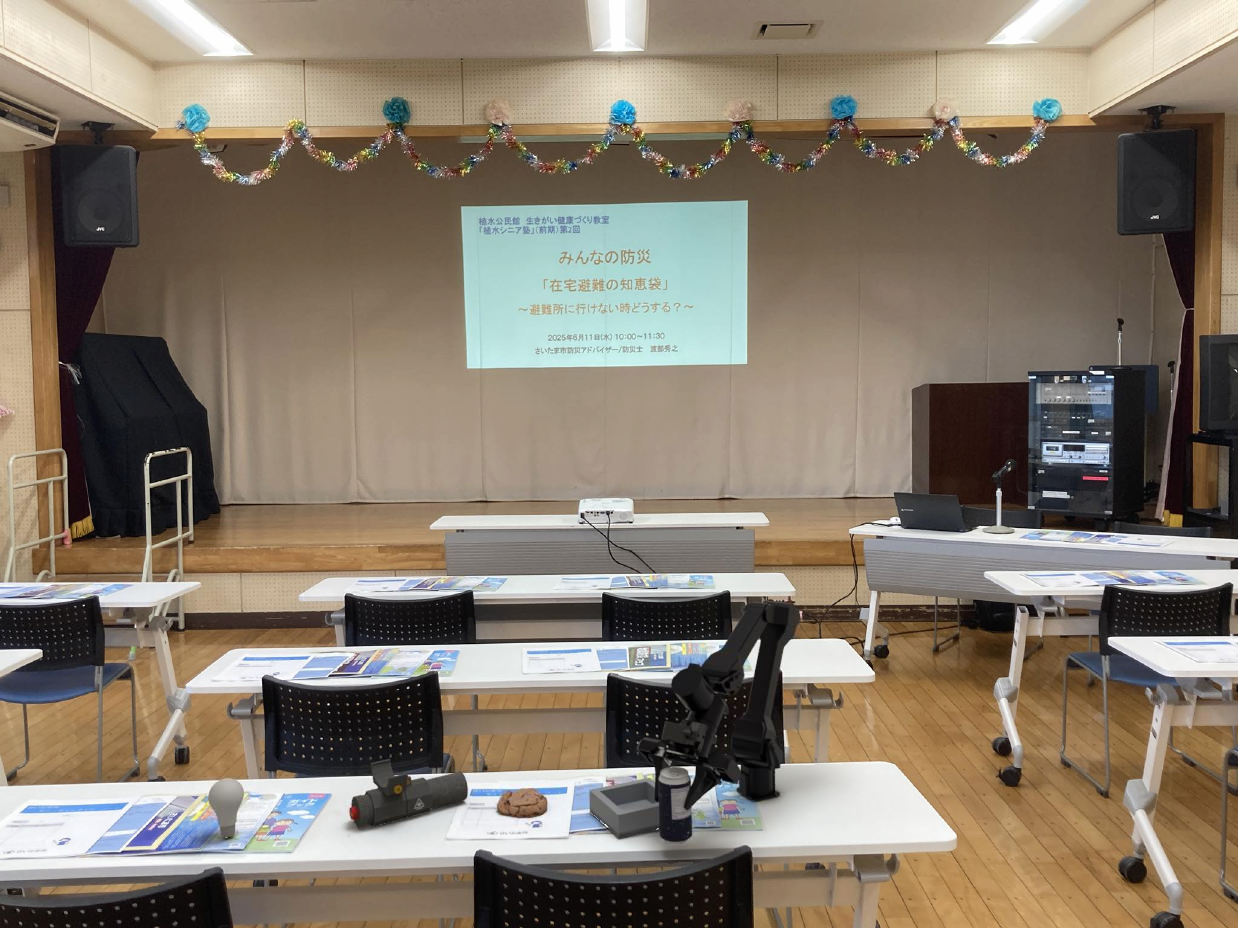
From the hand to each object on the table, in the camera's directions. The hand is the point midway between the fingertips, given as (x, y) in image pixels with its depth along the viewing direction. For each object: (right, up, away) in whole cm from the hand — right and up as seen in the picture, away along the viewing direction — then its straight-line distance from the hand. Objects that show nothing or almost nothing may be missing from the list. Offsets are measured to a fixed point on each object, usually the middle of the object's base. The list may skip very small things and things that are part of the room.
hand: (670, 804), depth 167 cm
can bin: (-6, -8, +16) cm, 19 cm away
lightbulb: (-81, -10, +12) cm, 83 cm away
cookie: (-28, -9, +22) cm, 37 cm away
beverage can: (+1, -7, +2) cm, 7 cm away
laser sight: (-50, -9, +20) cm, 55 cm away
